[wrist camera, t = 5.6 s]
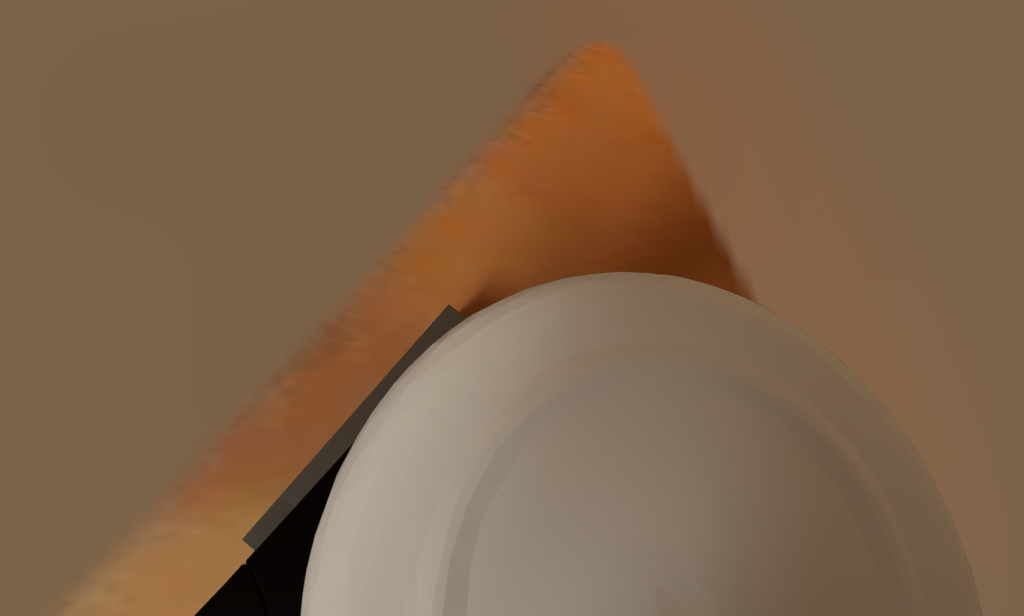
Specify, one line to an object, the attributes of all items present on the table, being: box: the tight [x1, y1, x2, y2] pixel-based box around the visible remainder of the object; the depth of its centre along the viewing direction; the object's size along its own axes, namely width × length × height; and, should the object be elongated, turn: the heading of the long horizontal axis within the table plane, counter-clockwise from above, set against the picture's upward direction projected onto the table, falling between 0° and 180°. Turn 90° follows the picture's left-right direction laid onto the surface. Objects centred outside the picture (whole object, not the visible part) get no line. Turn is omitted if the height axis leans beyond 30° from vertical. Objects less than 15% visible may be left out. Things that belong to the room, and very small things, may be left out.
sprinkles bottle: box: [301, 272, 983, 616], centre depth 9 cm, size 5×5×13 cm
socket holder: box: [242, 305, 467, 550], centre depth 17 cm, size 10×10×2 cm
